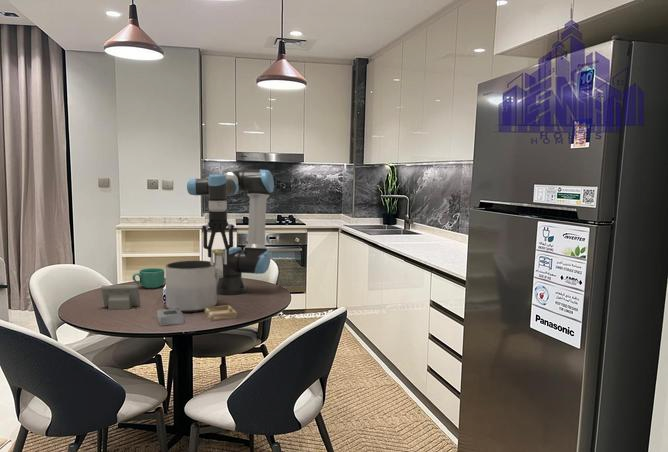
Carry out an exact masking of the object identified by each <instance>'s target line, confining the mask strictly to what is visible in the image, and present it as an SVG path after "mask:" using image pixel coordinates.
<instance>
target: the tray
mask: <svg viewBox="0 0 668 452" xmlns="http://www.w3.org/2000/svg"><path fill="white" fill-rule="evenodd" d="M204 314H205V315H206V316H207V318H208V319H209V320H210V321H211V322H215V321H220V320H221V321H222V320H231V319H238V312H237V311H236V310H235V309H234V308H233V307H232V306H231V305H230V304H227V305H226V304H225V305H215V306H214V307H205V310H204Z"/></svg>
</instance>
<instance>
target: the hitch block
mask: <svg viewBox="0 0 668 452" xmlns="http://www.w3.org/2000/svg"><path fill="white" fill-rule="evenodd" d="M156 313H157V314H156V315H157V316H156V317H157V321H158V323H159V325H160V327H164V326H172V325H182V323H183V324H185V322H184V321H185V320H184V319H185V317H184V312H181V310H180V309H179V308H174V309H168V308H166V309H158V310H156Z"/></svg>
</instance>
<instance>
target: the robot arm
mask: <svg viewBox="0 0 668 452" xmlns="http://www.w3.org/2000/svg"><path fill="white" fill-rule="evenodd" d="M274 189H275V181H274V177H273V174H272V173H271V171H270V170H268V169H239V170H238V169H237V170H233V171H229V172H225V173H224V174H214V173H213V174H209V175H208V177H203V178H202V177H201V178H196V177H195V178H190V179H188V181H187V184H186V190H187V193H188V194H189V195H191V196H197V197H198V196H208V210H209V211H208V222H207V224H204V225H201V229H202V232H203V233H202V235H203V237H202V239H203V241H202V244H203V245H202V247H203V249H205V250H207V257H208V258H210V260H209V261H210V264H211V265H214V264H213V262H214V253H213V250H214V249H212V248H213V245H214V241H215V236H216V234H217V233H220V234H221V237H222V242H223V245H224V248H223V249H224V253H223V278H217V279H218V280H217V282H216V294H217V295H222V296H223V295H225V296H226V295H230V296H233V295H239V294H244V293H245V291H246V287H245V286H246V285H245V284H244V280H243V276H242V274H255V275H257V274H259V275H260V274H265V273H267V271H268V270H269V267H270V265H271V258H272V257H271V253H270V252H269V251H268V247H267V246H266V245H265V238H266V221H267V220H266V217H267V199H268V198H270V194H271V193H273V192H274ZM238 192H244V193H246V195H247V197H249V207H248V208H249V210H248V229H247V230H248V231H247V244H246V245H245V246H244V250H243V249H242V247H239V246H235V247H234V228H235V225H234V224H230V223H229V222H228V212H227V211H226V210H227V209H228V208H227V207H228V205H227V201H228V199H227V198H228V197H232V196H235V195H236V194H237V193H238ZM227 228H228V239H227V235H226V229H227ZM209 229H210V230H211V231H210V236H209V241H208V230H209Z"/></svg>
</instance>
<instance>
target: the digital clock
mask: <svg viewBox="0 0 668 452" xmlns="http://www.w3.org/2000/svg"><path fill="white" fill-rule="evenodd" d="M139 289H140V288H139V286H138V284H124V285H123V284H118V285H112V284H111V285H102V286H101V289H100V290H101V296H102V301H103V306H104V307H105V308H108V311H109V310H110V311H112V310H113V311H115V310H130V309H131V308H132V307H139V306H140V305H141V299H140V298H141V297H140V290H139Z"/></svg>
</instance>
